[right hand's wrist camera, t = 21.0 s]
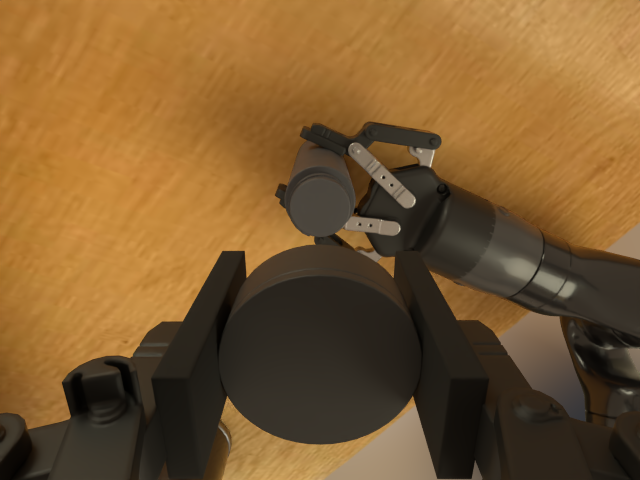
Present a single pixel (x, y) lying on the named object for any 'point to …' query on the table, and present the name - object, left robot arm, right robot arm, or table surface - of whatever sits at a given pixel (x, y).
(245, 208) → the table surface
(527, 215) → the table surface
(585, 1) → the table surface
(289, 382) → the lid
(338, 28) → the table surface
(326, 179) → the dark grey cylinder
